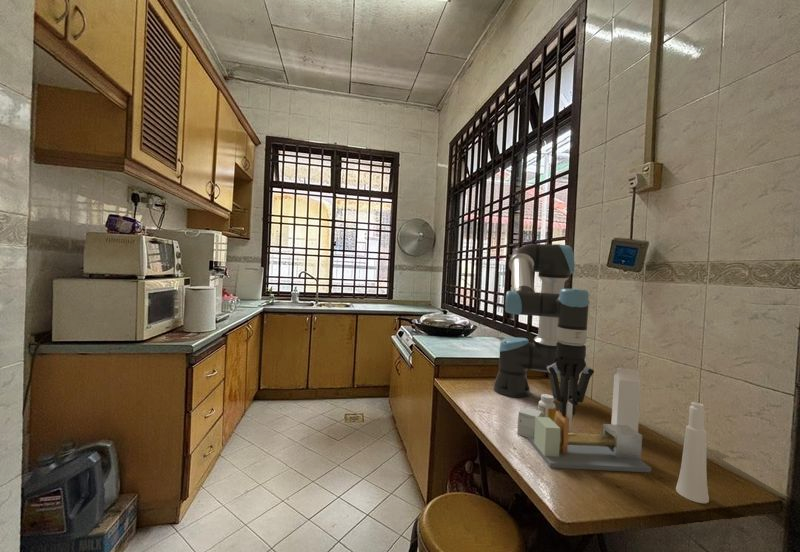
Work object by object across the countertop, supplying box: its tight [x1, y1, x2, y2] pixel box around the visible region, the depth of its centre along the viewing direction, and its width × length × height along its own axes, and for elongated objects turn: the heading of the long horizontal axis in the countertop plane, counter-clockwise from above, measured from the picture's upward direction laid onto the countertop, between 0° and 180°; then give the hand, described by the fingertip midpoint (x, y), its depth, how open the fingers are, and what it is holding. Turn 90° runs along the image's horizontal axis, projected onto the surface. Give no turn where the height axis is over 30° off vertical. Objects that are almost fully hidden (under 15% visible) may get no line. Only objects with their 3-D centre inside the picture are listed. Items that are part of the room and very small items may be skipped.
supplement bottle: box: [537, 393, 557, 423], centre depth 116 cm, size 5×5×10 cm
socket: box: [534, 417, 561, 457], centre depth 96 cm, size 7×4×8 cm, turn 1°
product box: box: [516, 406, 542, 439], centre depth 108 cm, size 6×6×7 cm
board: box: [528, 437, 652, 473], centre depth 96 cm, size 14×27×1 cm, turn 91°
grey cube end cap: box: [602, 423, 643, 460], centre depth 96 cm, size 6×7×7 cm
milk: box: [610, 367, 642, 433], centre depth 111 cm, size 6×6×22 cm
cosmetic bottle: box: [675, 401, 710, 504], centre depth 80 cm, size 6×6×22 cm
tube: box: [555, 410, 614, 454], centre depth 96 cm, size 5×20×10 cm, turn 91°
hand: (566, 425), depth 96 cm, fingers closed
